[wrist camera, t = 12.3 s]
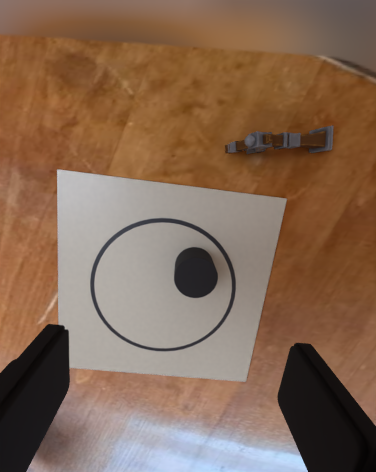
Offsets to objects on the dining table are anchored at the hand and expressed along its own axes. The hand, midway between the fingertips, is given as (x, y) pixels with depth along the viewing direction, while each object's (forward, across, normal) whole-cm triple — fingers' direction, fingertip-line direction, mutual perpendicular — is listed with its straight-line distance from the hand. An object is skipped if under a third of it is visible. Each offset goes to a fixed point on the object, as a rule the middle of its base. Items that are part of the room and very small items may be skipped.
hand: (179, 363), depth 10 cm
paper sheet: (+12, +1, +3) cm, 13 cm away
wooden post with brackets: (+13, -7, -11) cm, 18 cm away
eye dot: (+12, -1, 0) cm, 12 cm away
